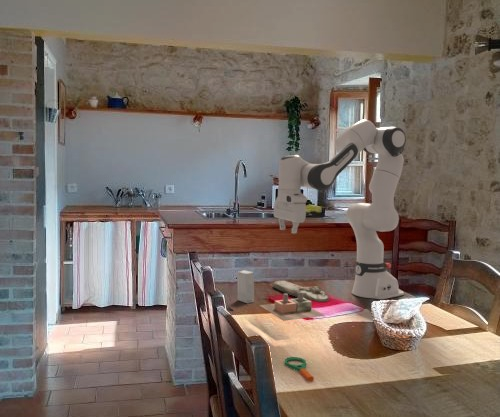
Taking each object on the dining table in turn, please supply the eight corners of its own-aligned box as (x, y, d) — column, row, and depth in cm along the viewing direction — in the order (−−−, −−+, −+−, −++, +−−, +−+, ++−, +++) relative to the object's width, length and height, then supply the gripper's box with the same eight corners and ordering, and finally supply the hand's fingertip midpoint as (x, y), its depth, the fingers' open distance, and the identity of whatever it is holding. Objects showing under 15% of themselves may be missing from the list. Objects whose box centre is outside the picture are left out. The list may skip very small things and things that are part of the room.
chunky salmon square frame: (274, 308, 201) (274, 300, 200) (288, 306, 203) (288, 299, 203) (282, 312, 195) (282, 305, 195) (296, 311, 198) (296, 303, 197)
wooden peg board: (297, 304, 212) (298, 286, 211) (324, 319, 194) (325, 299, 193) (259, 309, 205) (259, 290, 204) (283, 324, 187) (284, 303, 186)
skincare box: (254, 302, 215) (255, 272, 213) (246, 303, 212) (246, 273, 210) (245, 298, 219) (245, 269, 218) (236, 300, 216) (236, 271, 215)
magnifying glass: (281, 361, 155) (281, 356, 154) (301, 360, 156) (301, 354, 156) (299, 383, 140) (299, 377, 140) (321, 381, 142) (321, 375, 141)
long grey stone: (285, 288, 244) (267, 291, 239) (284, 276, 244) (266, 280, 238) (336, 302, 214) (317, 307, 209) (335, 289, 214) (316, 294, 209)
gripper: (270, 194, 217) (269, 228, 218) (294, 198, 198) (293, 235, 200) (283, 194, 219) (283, 227, 221) (309, 198, 201) (308, 234, 202)
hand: (288, 231), depth 210 cm, fingers open, 8 cm apart
